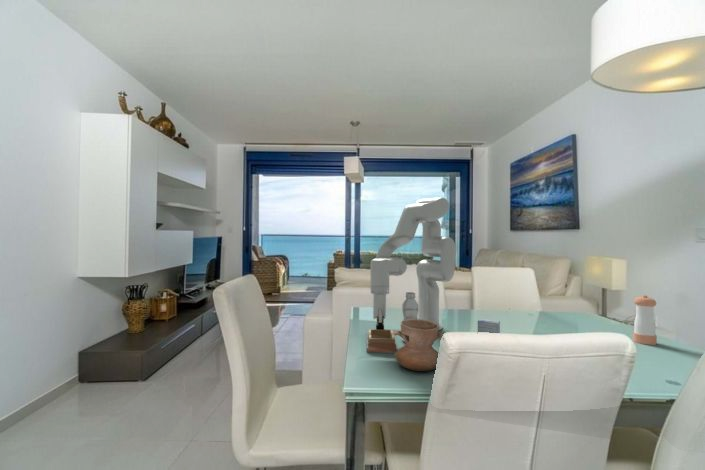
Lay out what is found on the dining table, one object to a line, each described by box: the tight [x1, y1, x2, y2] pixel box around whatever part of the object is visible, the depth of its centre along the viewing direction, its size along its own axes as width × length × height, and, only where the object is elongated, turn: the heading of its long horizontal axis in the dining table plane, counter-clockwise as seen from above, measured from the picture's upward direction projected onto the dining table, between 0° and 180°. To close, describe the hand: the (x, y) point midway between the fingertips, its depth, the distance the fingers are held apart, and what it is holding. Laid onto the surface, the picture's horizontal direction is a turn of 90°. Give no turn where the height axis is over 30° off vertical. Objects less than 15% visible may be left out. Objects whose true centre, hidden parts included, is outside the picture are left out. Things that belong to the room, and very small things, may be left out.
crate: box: [368, 328, 396, 344], centre depth 129 cm, size 13×9×4 cm
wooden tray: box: [365, 329, 399, 354], centre depth 134 cm, size 24×11×4 cm, turn 178°
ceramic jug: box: [392, 318, 444, 372], centre depth 111 cm, size 18×14×14 cm
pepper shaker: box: [632, 294, 658, 346], centre depth 139 cm, size 7×7×19 cm
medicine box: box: [477, 318, 501, 334], centre depth 138 cm, size 8×4×9 cm, turn 58°
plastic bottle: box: [401, 291, 419, 343], centre depth 135 cm, size 6×7×20 cm
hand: (380, 334), depth 137 cm, fingers closed
